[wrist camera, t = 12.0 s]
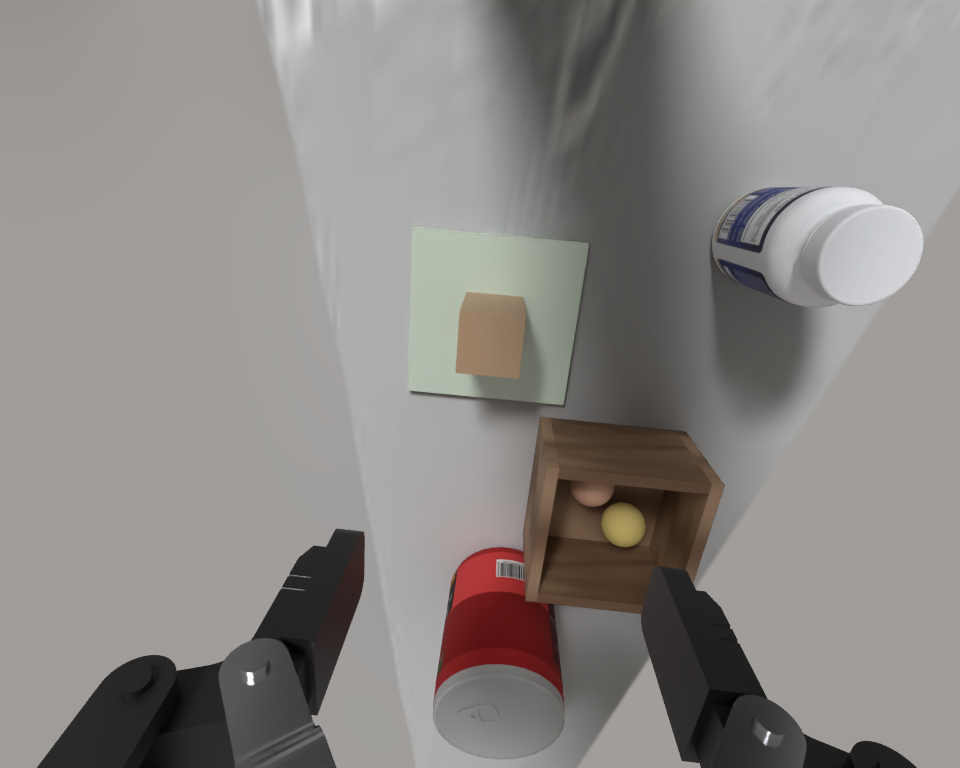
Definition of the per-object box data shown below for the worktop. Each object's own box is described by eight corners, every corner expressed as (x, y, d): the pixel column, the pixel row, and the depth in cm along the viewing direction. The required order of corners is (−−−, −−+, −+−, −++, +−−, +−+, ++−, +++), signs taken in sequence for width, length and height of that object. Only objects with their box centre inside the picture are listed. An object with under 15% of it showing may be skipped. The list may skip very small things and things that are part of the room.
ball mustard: (601, 491, 35) (609, 517, 32) (643, 496, 35) (655, 522, 32) (594, 526, 36) (601, 554, 33) (635, 530, 36) (645, 559, 33)
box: (540, 417, 34) (547, 466, 28) (685, 431, 34) (724, 485, 28) (522, 534, 38) (525, 600, 32) (653, 548, 37) (681, 618, 31)
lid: (415, 226, 30) (394, 235, 24) (586, 241, 30) (604, 254, 24) (410, 384, 34) (391, 423, 28) (561, 399, 34) (572, 441, 28)
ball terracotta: (570, 450, 34) (575, 474, 31) (613, 455, 34) (623, 479, 31) (563, 487, 35) (568, 513, 32) (605, 492, 35) (614, 518, 32)
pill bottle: (808, 268, 29) (943, 304, 20) (715, 293, 30) (804, 339, 21) (802, 173, 27) (947, 167, 18) (703, 203, 28) (795, 211, 19)
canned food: (434, 563, 39) (408, 696, 29) (526, 529, 37) (532, 658, 27) (478, 629, 41) (468, 773, 31) (566, 600, 40) (585, 742, 30)
